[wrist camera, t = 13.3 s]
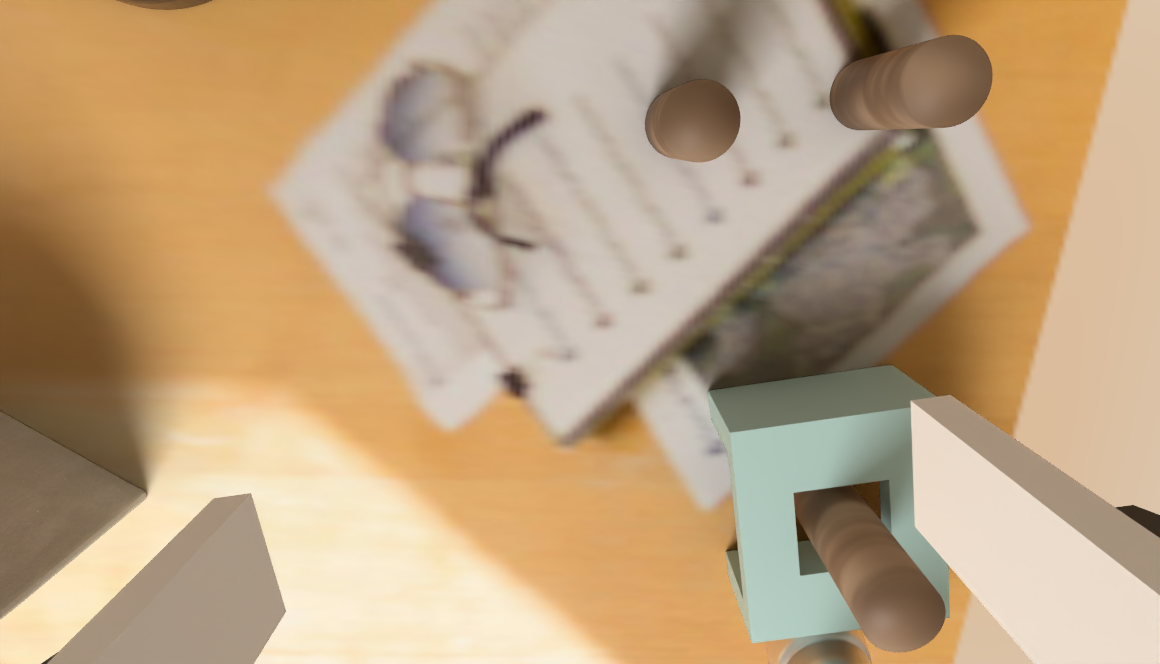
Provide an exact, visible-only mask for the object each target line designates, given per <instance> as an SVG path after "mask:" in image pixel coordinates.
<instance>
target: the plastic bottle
mask: <svg viewBox="0 0 1160 664" xmlns="http://www.w3.org/2000/svg"><path fill="white" fill-rule="evenodd" d="M766 650H767V659H768V663H769V664H872V663H871V658H870V654H869V651H868V648H867V645H866V642H865V639H864V636H863V634H862V632H861V631H860V629H858V630H851V631H843V632H835V633H828V634H820V635H812V636H805V637H797V638H789V639H782V640H774V641H766Z"/></svg>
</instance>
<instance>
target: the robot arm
mask: <svg viewBox="0 0 1160 664" xmlns="http://www.w3.org/2000/svg"><path fill="white" fill-rule="evenodd" d="M117 1H120V2H124V3H127V4H131V5H134V6H138V7H143V8H150V9H161V10H172V9H183V8H189V7H194V6H198V5H201V4H204V3H207V2H209V1H212V0H117ZM911 428H912V457H913V487H914V517H915V527H916V529H917V530H918V531H919V532H920V533H921V534H922V535H923V537H924V538H925V539H926V540H927V541H928V542H929V543H930V545H931V546H932V547H933V548H934V549H935V550H936V551H937V553H938V554H939V555H940V556H941V557H942V558H943V559H944V561H945V562H946V563H947V564H948V565H949V566H950V567H951V569H952V570H953V571H954V572H955V573H956V574H957V576H958V577H959V578H960V579H961V580H962V581H963V582H964V584H965V585H966V586H967V587H968V588H969V589H970V590H971V592H972V593H973V594H974V595H975V596H976V597H977V598H978V599H979V601H980V602H981V603H982V604H983V605H984V606H985V608H986V609H987V610H988V611H989V612H990V613H991V614H992V616H993V617H994V618H995V619H996V620H997V621H998V622H999V623H1000V625H1001V626H1002V627H1003V628H1004V629H1005V630H1006V632H1007V633H1008V634H1009V635H1010V636H1011V637H1012V638H1013V640H1014V641H1015V642H1016V643H1017V644H1018V645H1019V647H1020V648H1021V649H1022V650H1023V651H1024V652H1025V653H1026V655H1027V656H1028V657H1029V658H1030V659H1031V660H1032V661H1033V663H1034V664H1160V515H1158V514H1155V513H1152V512H1150V511H1147V510H1145V509H1142V508H1139V507H1137V506H1134V505H1131V506H1123V507H1116V508H1115V507H1113V506H1112V505H1111V504H1109V503H1108V502H1106V501H1105V500H1103V499H1102V498H1100V497H1099V496H1097V495H1096V494H1095V493H1093V492H1092V491H1090V490H1089V489H1087V488H1086V487H1084V486H1083V485H1081V484H1080V483H1078V482H1077V481H1076V480H1074V479H1073V478H1071V477H1070V476H1068V475H1067V474H1065V473H1064V472H1062V471H1061V470H1059V469H1058V468H1057V467H1055V466H1054V465H1052V464H1051V463H1049V462H1048V461H1046V460H1045V459H1043V458H1042V457H1040V456H1039V455H1038V454H1036V453H1035V452H1033V451H1032V450H1030V449H1029V448H1027V447H1026V446H1024V445H1023V444H1021V443H1020V442H1019V441H1017V440H1016V439H1014V438H1013V437H1011V436H1010V435H1008V434H1007V433H1005V432H1004V431H1003V430H1001V429H1000V428H998V427H997V426H995V425H994V424H992V423H991V422H989V421H988V420H986V419H985V418H984V417H982V416H981V415H979V414H978V413H976V412H975V411H973V410H972V409H970V408H969V407H967V406H966V405H965V404H963V403H962V402H960V401H959V400H957V399H956V398H954V397H953V396H951V395H946V396H939V397H932V398H924V399H917V400H911ZM285 612H286V610H285V607H284V603H283V600H282V597H281V593H280V590H279V586H278V583H277V580H276V576H275V573H274V570H273V566H272V563H271V559H270V556H269V553H268V549H267V546H266V543H265V539H264V536H263V532H262V529H261V526H260V522H259V519H258V516H257V512H256V509H255V505H254V502H253V499H252V495H251V493H250V494H243V495H236V496H229V497H222V498H215V499H213V500H212V501H211V502H210V503H209V504H208V505H207V506H206V507H205V508H204V509H203V510H202V511H201V512H200V513H199V514H198V515H197V516H196V517H195V518H194V519H193V520H192V521H191V522H190V523H189V524H188V525H187V526H186V527H185V528H184V529H183V530H182V531H181V532H180V533H178V534H177V535H176V536H175V537H174V538H173V539H172V540H171V541H170V542H169V543H168V544H167V545H166V546H165V547H164V548H163V549H162V550H161V551H160V552H159V553H158V554H157V555H156V556H155V557H154V558H153V559H152V560H151V561H150V562H149V563H148V564H147V565H146V566H145V567H144V568H143V569H142V570H141V571H140V572H139V573H138V574H137V575H136V576H135V577H134V578H133V579H132V580H131V581H130V582H129V583H128V584H127V585H126V586H125V587H124V588H123V589H122V590H121V591H120V592H119V593H118V594H117V595H116V596H115V597H114V598H113V599H112V600H111V601H110V602H109V603H108V604H107V605H106V606H105V607H104V608H103V609H102V610H101V611H100V612H99V613H98V614H97V615H96V616H95V617H94V618H93V619H92V620H91V621H90V622H89V623H87V624H86V625H85V626H84V627H83V628H82V629H81V630H80V631H79V632H78V633H77V634H76V635H75V636H74V637H73V638H72V639H71V640H70V641H69V642H68V643H67V644H66V645H65V646H64V647H63V648H62V649H61V650H60V651H59V652H58V653H56V654H55V655H53V656H52V657H50V658H49V659H47V660H46V661H45V662H43V663H42V664H254V662H255V661H256V659H257V657H258V656H259V654H260V653H261V651H262V649H263V648H264V646H265V644H266V643H267V641H268V640H269V638H270V636H271V635H272V633H273V632H274V630H275V628H276V627H277V625H278V623H279V622H280V620H281V619H282V617H283V615H284V614H285Z"/></svg>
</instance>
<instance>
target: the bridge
mask: <svg viewBox="0 0 1160 664" xmlns="http://www.w3.org/2000/svg"><path fill="white" fill-rule="evenodd" d="M708 394H709V403H710V412H711V420H712V422H713V424H714V426H715V428H716V430H717V432H718V434H719V436H720V438H721V440H722V442H723V445H724V447H725V449H726V451H727V453H728V458H729V468H730V477H731V487H732V496H733V506H734V515H735V525H736V534H737V544H738V550H733V551H726V557H727V566H728V575H729V579H730V582H731V585H732V587H733V590H734V593H735V596H736V599H737V602H738V605H739V608H740V610H741V613H742V616H743V619H744V622H745V625H746V628H747V631H748V634H749V636H750V639H751V642H752V643H759V642H766V641H774V640H782V639H789V638H797V637H805V636H812V635H820V634H828V633H835V632H843V631H851V630H858V629H861V627H860V626H859V624H858V622H857V620H856V619H855V617H854V615H853V614H852V612H851V610H850V608H849V607H848V605H847V603H846V601H845V600H844V598H843V596H842V595H841V593H840V591H839V589H838V588H837V586H836V584H835V582H834V581H833V579H832V577H831V576H830V574H829V572H828V570H827V569H826V567H825V565H824V564H823V562H822V560H821V558H820V557H819V555H818V553H817V551H816V550H815V548H814V546H813V545H812V543H811V541H810V540H807V541H799V542H797V531H796V519H795V507H794V494H793V493H796V492H803V491H811V490H818V489H825V488H832V487H840V486H847V485H854V484H862V483H869V482H876V481H879V484H880V505H881V521H882V522H883V524H884V525H885V526H886V527H887V529H888V530H889V531H890V532H891V534H892V535H893V536H894V537H895V539H896V540H897V541H898V542H899V544H900V545H901V546H902V547H903V549H904V550H905V551H906V552H907V554H908V555H909V556H910V558H911V559H912V560H913V561H914V563H915V564H916V565H917V566H918V568H919V569H920V570H921V571H922V573H923V574H924V575H925V576H926V578H927V579H928V580H929V581H930V583H931V584H932V585H933V586H934V588H935V589H936V590H937V591H938V593H939V594H940V596H941V597H942V599H943V601H944V604H945V610H946V613H945V618H950V617H949V569H948V564H947V563H946V562H945V561H944V559H943V558H942V557H941V556H940V555H939V554H938V553H937V551H936V550H935V549H934V548H933V547H932V546H931V545H930V543H929V542H928V541H927V540H926V539H925V538H924V537H923V535H922V534H921V533H920V532H919V531H918V530H917V529H916V527H915V517H914V487H913V457H912V428H911V400H917V399H924V398H932V397H937V396H935V395H934V394H932V393H931V392H930V391H928V390H927V389H925V388H924V387H923V386H921V385H920V384H918V383H917V382H916V381H914V380H913V379H911V378H910V377H909V376H907V375H906V374H904V373H903V372H902V371H900V370H899V369H897V368H896V367H895V366H893V365H885V366H878V367H871V368H864V369H857V370H850V371H843V372H836V373H829V374H822V375H815V376H808V377H801V378H794V379H787V380H780V381H773V382H766V383H759V384H752V385H745V386H738V387H731V388H724V389H717V390H710V391H708Z"/></svg>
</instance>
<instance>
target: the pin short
mask: <svg viewBox="0 0 1160 664" xmlns="http://www.w3.org/2000/svg"><path fill="white" fill-rule="evenodd" d="M739 127H740V111H739V107H738V104H737V101H736V99H735V98H734V96H733V95H732V93H731V92H730V91H729V90H728V89H727V88H726V87H724V86H723V85H721V84H720V83H718V82H715V81H712V80H707V79H698V80H693V81H689V82H687V83H684V84H682V85H680V86H678V87H675V88H673V89H671V90H668V91H666V92H664V93H662V94H661V95H659V96H658V97H657V98H656V99H655V100H654V101H653V103H652V104H651V105H650V107H649V109H648V112H647V115H646V120H645V130H646V135H647V137H648V140H649V142H650V144H651V145H652V146H653V148H654V149H655V150H656V151H658V152H659V153H660V154H662V155H664V156H667V157H670V158H675V159H680V160H686V161H691V162H707V161H710V160H713V159H716V158H718V157H719V156H721V155H722V154H724V153H725V152H726V151H727V150H728V149H729V148H730V147H731V145H732V144H733V142H734V141H735V139H736V137H737V134H738V131H739Z"/></svg>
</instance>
